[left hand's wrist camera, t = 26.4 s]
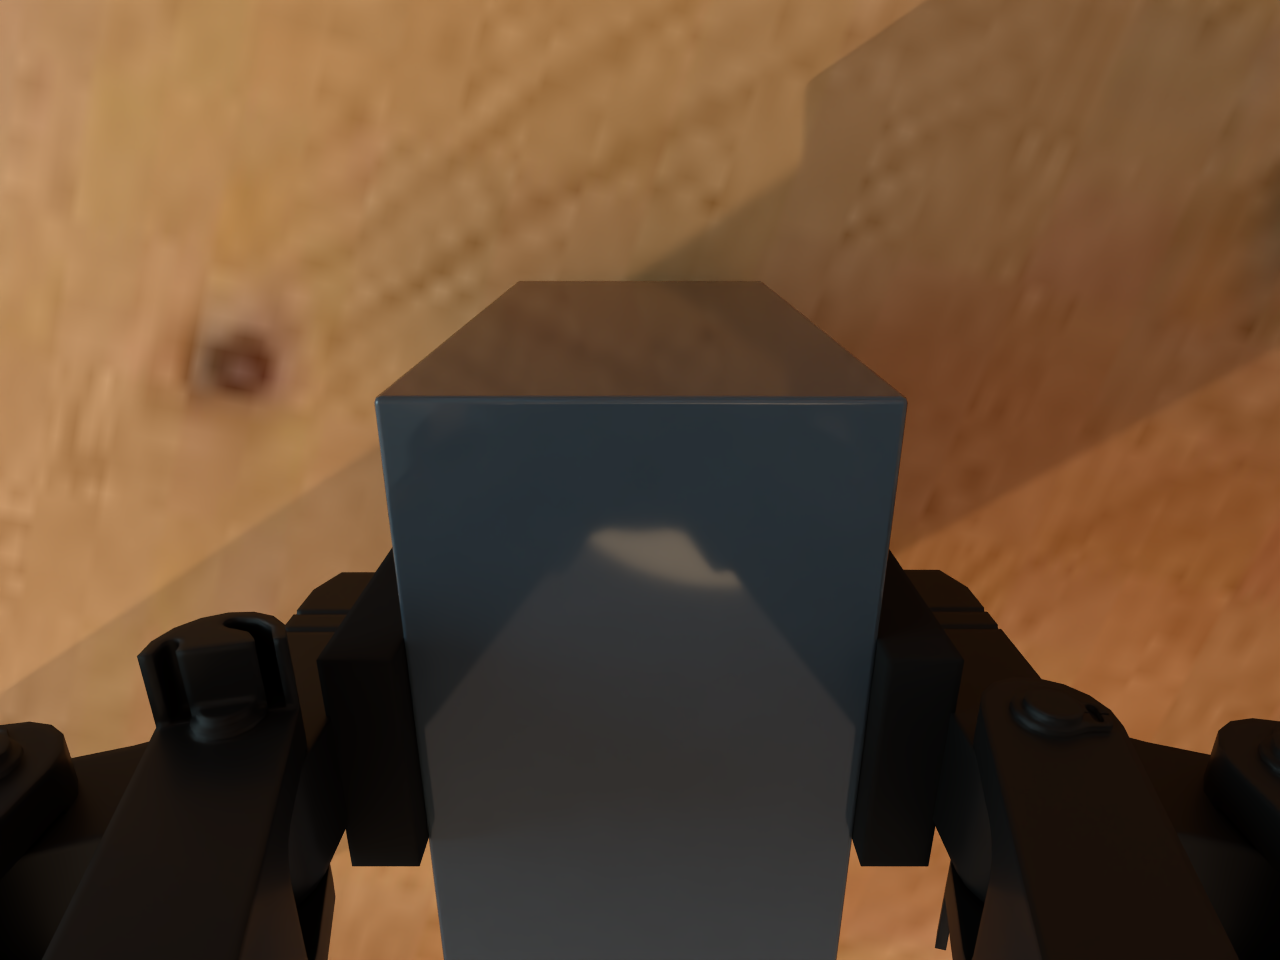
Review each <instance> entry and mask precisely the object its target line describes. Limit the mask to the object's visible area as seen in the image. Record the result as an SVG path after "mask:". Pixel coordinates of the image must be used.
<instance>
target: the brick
mask: <svg viewBox="0 0 1280 960" xmlns="http://www.w3.org/2000/svg"><path fill="white" fill-rule="evenodd" d="M374 403H375V411H376V419H377V427H378V435H379V443H380V451H381V459H382V467H383V475H384V483H385V491H386V499H387V507H388V515H389V523H390V531H391V539H392V547H393V555H394V563H395V571H396V579H397V587H398V596H399V604H400V612H401V620H402V628H403V636H404V643H405V651H406V659H407V667H408V675H409V683H410V691H411V699H412V707H413V715H414V723H415V731H416V739H417V747H418V755H419V763H420V771H421V779H422V787H423V795H424V803H425V811H426V819H427V827H428V835H429V844H430V852H431V860H432V868H433V876H434V884H435V892H436V900H437V908H438V917H439V925H440V933H441V941H442V949H443V957H444V960H836V959H837V951H838V943H839V936H840V928H841V920H842V912H843V904H844V897H845V889H846V881H847V873H848V865H849V857H850V850H851V842H852V833H853V825H854V817H855V809H856V802H857V794H858V786H859V778H860V770H861V762H862V754H863V747H864V739H865V731H866V723H867V715H868V707H869V700H870V692H871V684H872V676H873V668H874V660H875V653H876V645H877V638H878V631H879V623H880V615H881V607H882V599H883V592H884V584H885V576H886V568H887V560H888V552H889V545H890V537H891V529H892V521H893V513H894V506H895V498H896V490H897V482H898V474H899V466H900V459H901V451H902V443H903V435H904V427H905V420H906V412H907V404H908V402H907V399H906V397H905V396H903V395H902V394H901V393H900V392H898V391H897V390H896V389H895V388H893V387H892V386H891V385H890V384H888V383H887V382H886V381H885V380H883V379H882V378H881V377H880V376H878V375H877V374H876V373H875V372H873V371H872V370H871V369H870V368H868V367H867V366H866V365H865V364H864V363H862V362H861V361H860V360H859V359H857V358H856V357H855V356H854V355H852V354H851V353H850V352H849V351H847V350H846V349H845V348H844V347H842V346H841V345H840V344H839V343H837V342H836V341H835V340H834V339H832V338H831V337H830V336H829V335H827V334H826V333H825V332H824V331H823V330H821V329H820V328H819V327H818V326H816V325H815V324H814V323H813V322H811V321H810V320H809V319H808V318H806V317H805V316H804V315H803V314H801V313H800V312H799V311H798V310H796V309H795V308H794V307H793V306H791V305H790V304H789V303H788V302H786V301H785V300H784V299H783V298H782V297H780V296H779V295H778V294H777V293H775V292H774V291H773V290H772V289H770V288H769V287H768V286H767V285H765V284H764V283H763V282H761V281H519V282H517V283H516V284H515V285H513V286H512V287H511V288H510V289H508V290H507V291H506V292H505V293H503V294H502V295H501V296H500V297H499V298H497V299H496V300H495V301H494V302H492V303H491V304H490V305H489V306H488V307H486V308H485V309H484V310H483V311H481V312H480V313H479V314H478V315H476V316H475V317H474V318H473V319H472V320H470V321H469V322H468V323H467V324H465V325H464V326H463V327H462V328H461V329H459V330H458V331H457V332H456V333H454V334H453V335H452V336H451V337H449V338H448V339H447V340H446V341H445V342H443V343H442V344H441V345H440V346H438V347H437V348H436V349H435V350H433V351H432V352H431V353H430V354H429V355H427V356H426V357H425V358H424V359H422V360H421V361H420V362H419V363H418V364H416V365H415V366H414V367H413V368H411V369H410V370H409V371H408V372H406V373H405V374H404V375H403V376H402V377H400V378H399V379H398V380H397V381H395V382H394V383H393V384H392V385H391V386H389V387H388V388H387V389H386V390H384V391H383V392H382V393H381V394H379V395H378V396H377V397H376V399H375V402H374Z"/></svg>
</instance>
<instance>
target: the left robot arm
mask: <svg viewBox="0 0 1280 960" xmlns="http://www.w3.org/2000/svg"><path fill="white" fill-rule="evenodd" d="M137 658H138V661H139V665H140V669H141V673H142V676H143V680H144V684H145V687H146V691H147V695H148V698H149V702H150V706H151V709H152V713H153V717H154V720H155V724H156V729H155V731H154V733H153V735H152V737H151V739H150V741H149V742H146V743H142V744H138V745H135V746H130V747H125V748H120V749H115V750H110V751H105V752H100V753H95V754H90V755H85V756H80V757H75V758H71V756H70V753H69V750H68V747H67V744H66V741H65V738H64V735H63V734H62V733H61V732H60V731H59V730H57V729H56V728H55V727H54V726H52V725H49V724H42V723H35V722H23V723H15V724H6V725H0V960H328V952H329V944H330V936H331V928H332V920H333V912H334V904H335V890H334V883H333V877H332V872H331V866H330V862H331V860H332V858H333V855H334V853H335V851H336V849H337V847H338V844H339V842H340V840H341V838H342V836H343V833H344V831H345V829H346V833H347V839H348V845H349V851H350V856H351V862H352V866H420V863H421V860H422V857H423V854H424V851H425V848H426V845H427V841H428V838H429V835H428V827H427V819H426V811H425V803H424V795H423V787H422V779H421V771H420V763H419V755H418V747H417V739H416V731H415V723H414V715H413V707H412V699H411V691H410V683H409V675H408V667H407V659H406V651H405V643H404V636H403V628H402V620H401V612H400V604H399V596H398V587H397V579H396V571H395V563H394V555H393V547H392V549H391V550H390V552H389V553H388V555H387V556H386V558H385V559H384V561H383V562H382V564H381V565H380V566H379V568H378V569H377V571H376V572H342V573H340V574H338V575H337V576H335V577H334V578H332V579H330V580H329V581H327V582H325V583H324V584H322V585H321V586H319V587H317V588H316V589H314V590H313V591H312V592H311V594H310V595H309V596H308V597H307V599H306V600H305V601H304V602H303V604H302V605H301V606H300V607H299V609H298V610H297V615H293V616H292V617H291V619H290V620H289V621H288V622H287V624H286V625H285V624H283V623H282V622H281V621H279V620H278V619H277V618H275V617H274V616H271V615H266V614H262V613H257V612H231V613H224V614H219V615H214V616H209V617H204V618H200V619H197V620H195V621H192V622H189V623H186V624H184V625H181V626H178V627H176V628H173V629H172V630H170V631H168V632H167V633H165V634H163V635H161V636H160V637H158V638H156V639H155V640H153V641H151V642H150V643H149V644H148V645H147V647H146V648H145V649H144V650H143V651H142V652H141V653H140V654H139V655H138V656H137ZM935 826H936V828H937V830H938V833H939V835H940V837H941V839H942V841H943V844H944V846H945V848H946V850H947V852H948V855H949V857H950V859H951V861H950V866H949V872H948V877H947V882H946V887H945V893H944V898H943V903H942V909H941V914H940V919H939V925H938V930H937V937H936V944H935V948H938V949H942V950H946V947H947V942H948V937H949V934H950V942H951V950H952V958H953V960H1280V721H1272V720H1263V719H1255V718H1251V719H1243V720H1236V721H1230V722H1229V723H1228V724H1226V725H1225V726H1224V727H1222V728H1221V729H1220V730H1219V731H1218V734H1217V737H1216V740H1215V743H1214V746H1213V749H1212V752H1211V755H1208V754H1203V753H1198V752H1193V751H1188V750H1183V749H1178V748H1173V747H1168V746H1163V745H1158V744H1153V743H1148V742H1144V741H1140V740H1137V739H1133V738H1129V736H1128V734H1127V732H1126V730H1125V728H1124V726H1123V725H1122V724H1121V722H1120V721H1119V720H1118V719H1117V717H1116V716H1115V715H1114V714H1113V712H1112V711H1111V710H1110V709H1108V708H1107V707H1105V706H1104V705H1103V704H1101V703H1100V702H1098V701H1097V700H1095V699H1094V698H1092V697H1091V696H1090V695H1087V694H1085V693H1083V692H1080V691H1078V690H1076V689H1073V688H1071V687H1069V686H1066V685H1064V684H1060V683H1056V682H1052V681H1047V680H1043V679H1041V678H1040V677H1039V675H1038V674H1037V673H1036V672H1035V670H1034V669H1033V668H1032V667H1031V665H1030V664H1029V663H1028V662H1027V660H1026V659H1025V658H1024V657H1023V655H1022V654H1021V653H1020V652H1019V651H1018V649H1017V648H1016V647H1015V646H1014V644H1013V643H1012V642H1011V641H1010V639H1009V638H1008V637H1007V636H1006V634H1005V633H1004V632H1003V631H1002V629H998V625H997V623H996V622H995V621H994V620H993V618H992V617H991V616H990V615H989V613H988V612H984V607H983V606H982V605H981V603H980V602H979V601H978V600H977V598H976V597H975V596H974V595H973V594H972V592H971V591H970V590H969V589H968V587H966V586H964V585H963V584H961V583H960V582H958V581H956V580H955V579H953V578H951V577H950V576H948V575H947V574H945V573H943V572H942V571H940V570H903V569H902V567H901V566H900V564H899V563H898V561H897V560H896V558H895V557H894V555H893V554H892V553H891V551H890V550H889V552H888V560H887V568H886V576H885V584H884V592H883V599H882V607H881V615H880V623H879V631H878V638H877V645H876V653H875V660H874V668H873V676H872V684H871V692H870V700H869V707H868V715H867V723H866V731H865V739H864V747H863V754H862V762H861V770H860V778H859V786H858V794H857V802H856V809H855V817H854V825H853V833H852V840H853V843H854V846H855V849H856V852H857V856H858V859H859V862H860V865H861V866H928V865H929V859H930V853H931V848H932V842H933V836H934V831H935Z"/></svg>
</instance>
